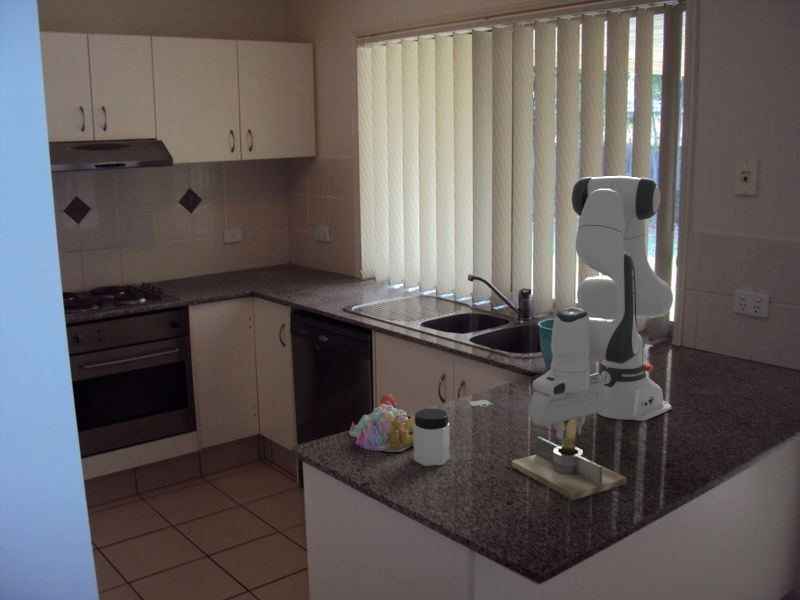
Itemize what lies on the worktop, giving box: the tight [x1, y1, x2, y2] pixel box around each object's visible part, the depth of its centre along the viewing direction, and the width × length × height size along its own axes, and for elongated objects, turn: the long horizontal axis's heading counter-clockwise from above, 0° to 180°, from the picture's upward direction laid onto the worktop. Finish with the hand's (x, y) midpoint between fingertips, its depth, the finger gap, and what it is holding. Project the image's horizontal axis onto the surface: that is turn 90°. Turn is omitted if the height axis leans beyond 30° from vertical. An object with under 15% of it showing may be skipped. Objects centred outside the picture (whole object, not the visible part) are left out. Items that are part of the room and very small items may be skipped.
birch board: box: [511, 453, 628, 501], centre depth 202 cm, size 16×22×2 cm
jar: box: [413, 408, 451, 467], centre depth 211 cm, size 9×8×12 cm
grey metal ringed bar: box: [536, 436, 602, 486], centre depth 201 cm, size 7×22×4 cm, turn 30°
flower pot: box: [537, 318, 554, 373], centre depth 279 cm, size 18×18×17 cm
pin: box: [560, 418, 577, 455], centre depth 200 cm, size 3×3×12 cm
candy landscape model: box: [348, 393, 415, 453], centre depth 228 cm, size 25×24×9 cm
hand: (568, 436), depth 200 cm, fingers closed on pin, 3 cm apart
